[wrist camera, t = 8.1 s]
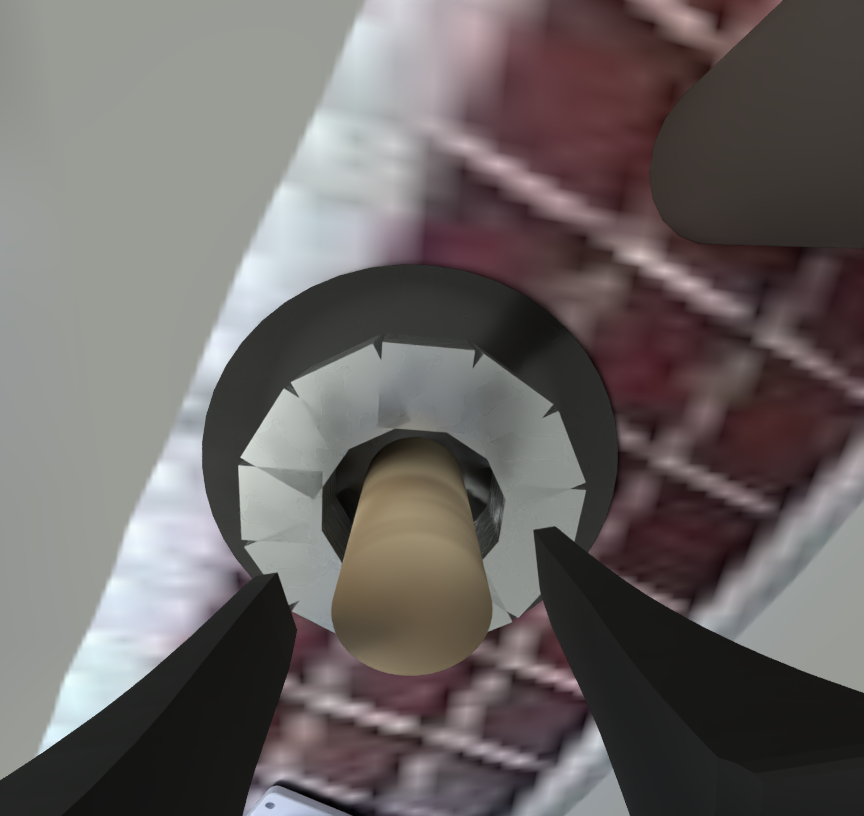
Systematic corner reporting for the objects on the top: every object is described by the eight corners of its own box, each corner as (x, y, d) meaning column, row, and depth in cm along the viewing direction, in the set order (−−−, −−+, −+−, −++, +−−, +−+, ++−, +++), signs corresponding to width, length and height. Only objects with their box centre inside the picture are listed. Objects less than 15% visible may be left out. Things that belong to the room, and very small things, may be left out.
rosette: (456, 689, 21) (461, 750, 18) (135, 525, 17) (83, 570, 15) (698, 431, 17) (751, 458, 14) (349, 157, 13) (332, 126, 11)
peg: (426, 540, 18) (432, 697, 11) (347, 494, 17) (300, 633, 10) (481, 470, 17) (525, 594, 10) (400, 418, 16) (388, 515, 9)
